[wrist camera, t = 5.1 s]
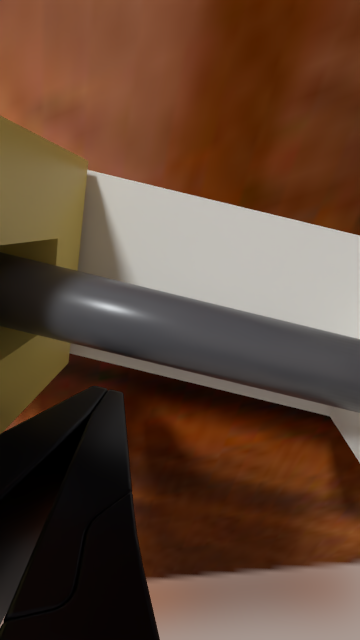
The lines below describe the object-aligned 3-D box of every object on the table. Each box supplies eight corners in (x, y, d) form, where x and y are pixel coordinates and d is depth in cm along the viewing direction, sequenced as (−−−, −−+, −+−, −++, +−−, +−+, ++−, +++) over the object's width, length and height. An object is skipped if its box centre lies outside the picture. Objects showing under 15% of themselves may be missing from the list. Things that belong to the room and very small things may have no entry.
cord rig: (435, 255, 8) (737, 300, 4) (349, 413, 11) (472, 575, 6) (-80, 130, 8) (-448, 14, 4) (-65, 313, 11) (-290, 391, 6)
